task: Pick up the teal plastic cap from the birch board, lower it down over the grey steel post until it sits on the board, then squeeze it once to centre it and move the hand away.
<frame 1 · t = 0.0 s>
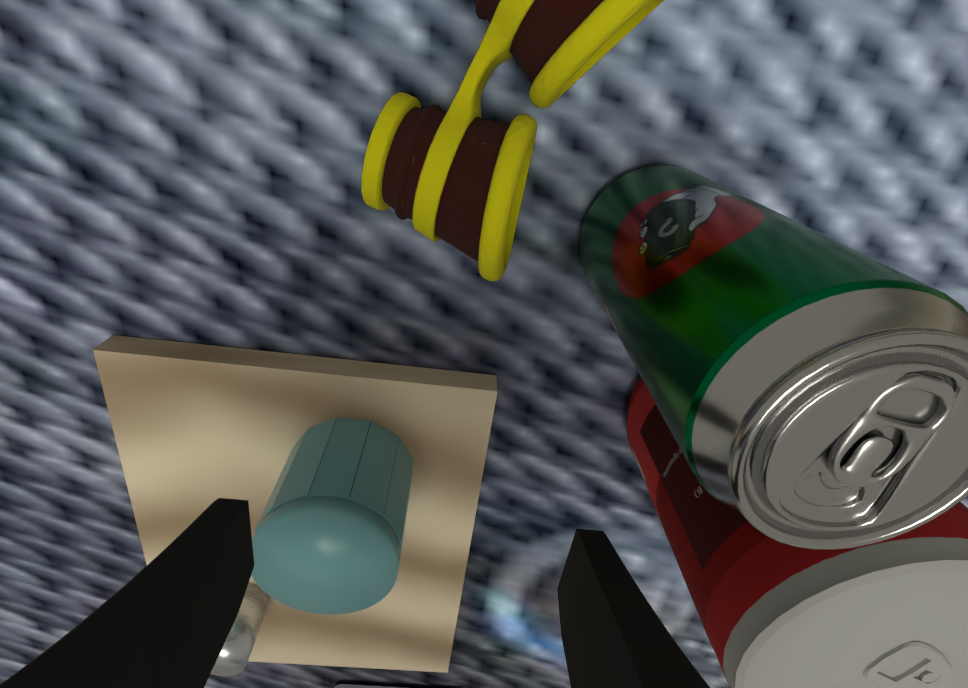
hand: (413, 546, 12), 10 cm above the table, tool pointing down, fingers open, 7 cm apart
soda can: (644, 233, 19), on the table
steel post: (256, 575, 27), resting on birch board
opera glasses: (499, 88, 17), on the table
teal cap: (353, 466, 22), point 1 cm above the table, touching birch board
canned food: (710, 404, 23), on the table
birch board: (314, 524, 25), on the table
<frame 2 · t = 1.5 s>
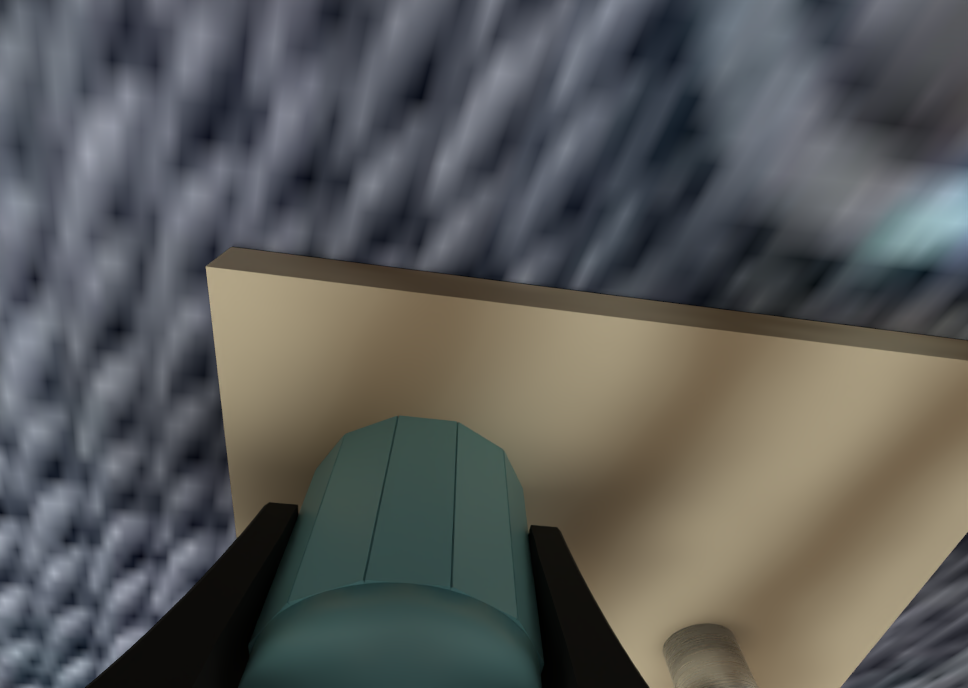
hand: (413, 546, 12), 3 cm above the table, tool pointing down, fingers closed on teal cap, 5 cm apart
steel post: (684, 609, 17), resting on birch board
teal cap: (418, 500, 13), point 1 cm above the table, touching birch board, gripper
birch board: (587, 535, 15), on the table
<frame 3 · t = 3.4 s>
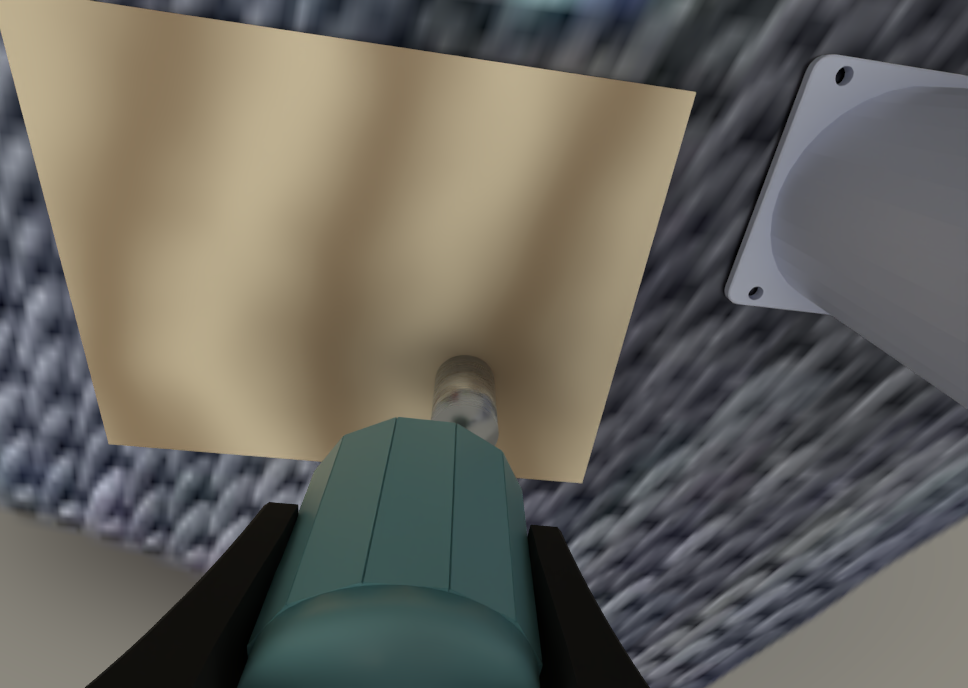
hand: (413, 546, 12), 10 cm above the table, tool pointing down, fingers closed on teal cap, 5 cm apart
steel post: (465, 364, 20), resting on birch board
teal cap: (417, 501, 13), point 8 cm above the table, touching gripper
birch board: (364, 281, 19), on the table
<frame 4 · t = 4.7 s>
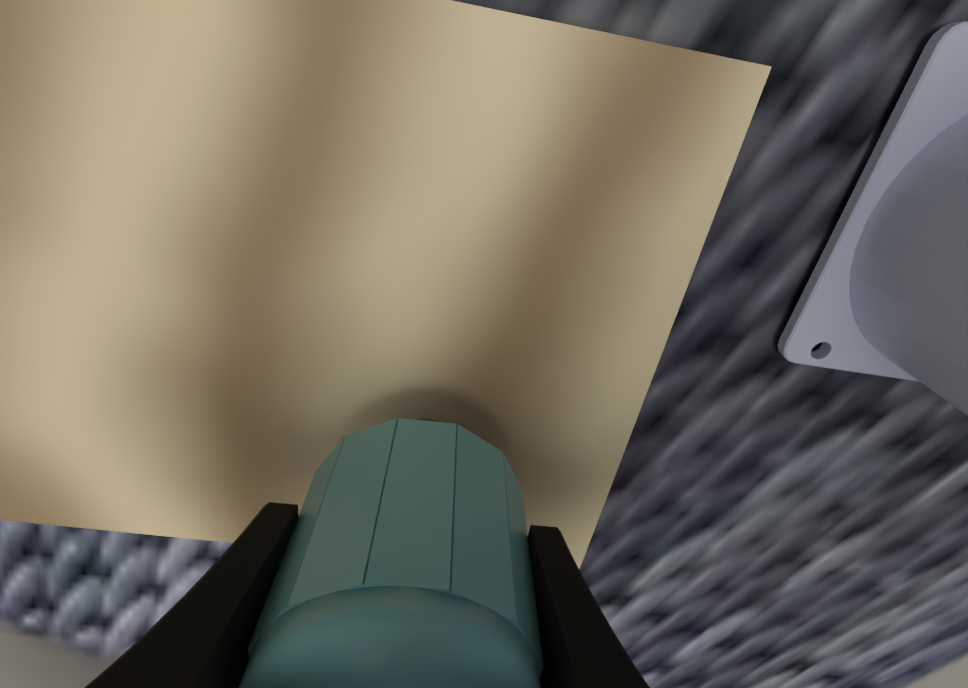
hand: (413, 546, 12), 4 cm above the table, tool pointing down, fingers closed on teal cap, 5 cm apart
teal cap: (418, 502, 13), point 3 cm above the table, touching gripper
birch board: (291, 314, 14), on the table
when the fingers open (4 cm above the table, at t = 5.4 s): teal cap drops 1 cm, resting on birch board.
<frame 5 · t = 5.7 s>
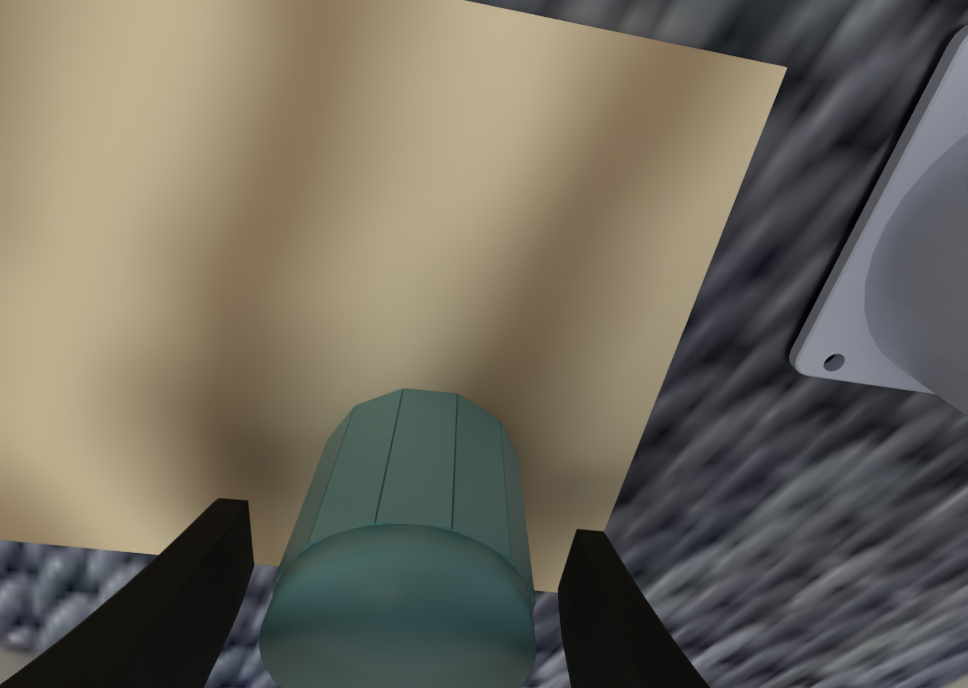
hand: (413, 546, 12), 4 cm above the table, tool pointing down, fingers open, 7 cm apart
teal cap: (422, 468, 14), point 1 cm above the table, touching birch board
birch board: (282, 326, 13), on the table
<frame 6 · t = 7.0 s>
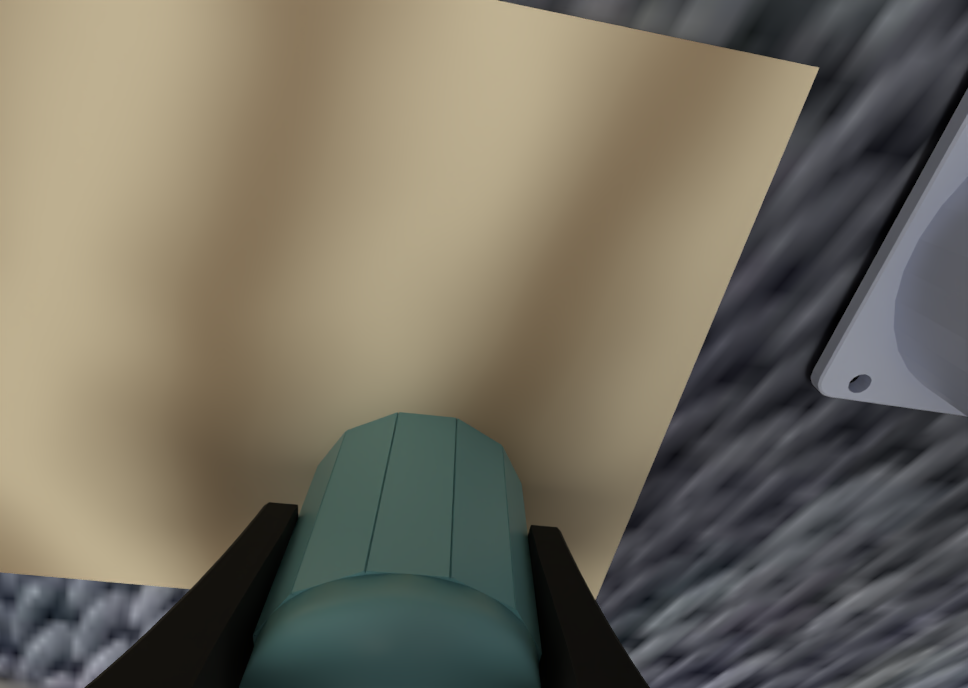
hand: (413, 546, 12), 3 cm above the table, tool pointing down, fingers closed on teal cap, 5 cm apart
teal cap: (419, 495, 13), point 1 cm above the table, touching birch board, gripper
birch board: (269, 344, 12), on the table
when the fingers open (3 cm above the table, at t = 8.2 s): teal cap stays where it is, resting on birch board.
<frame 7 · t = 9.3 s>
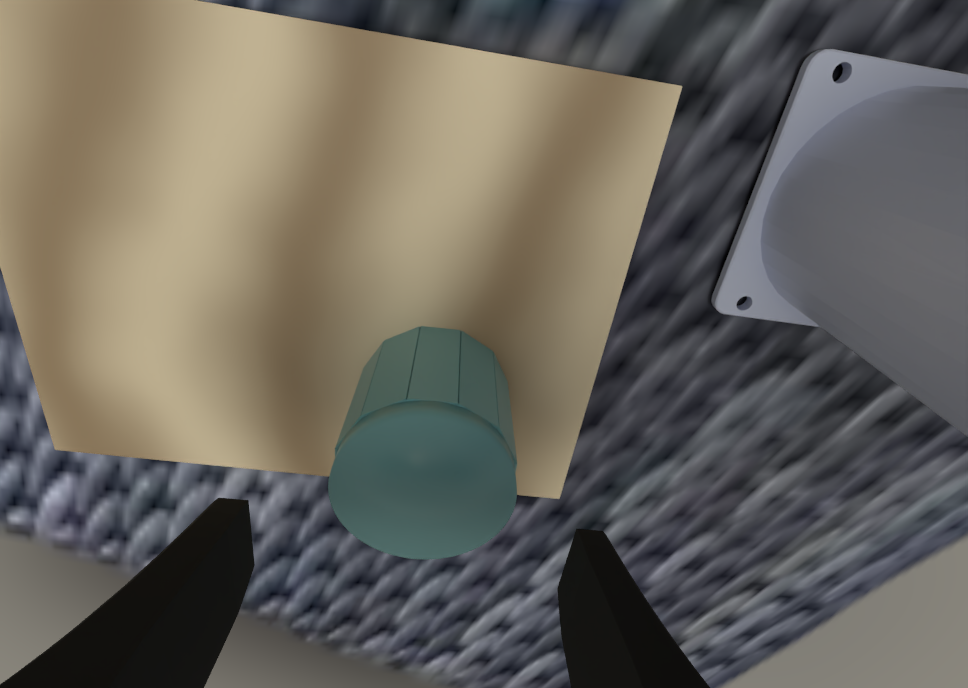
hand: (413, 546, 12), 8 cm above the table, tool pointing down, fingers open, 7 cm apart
teal cap: (434, 391, 18), point 1 cm above the table, touching birch board
birch board: (328, 282, 18), on the table
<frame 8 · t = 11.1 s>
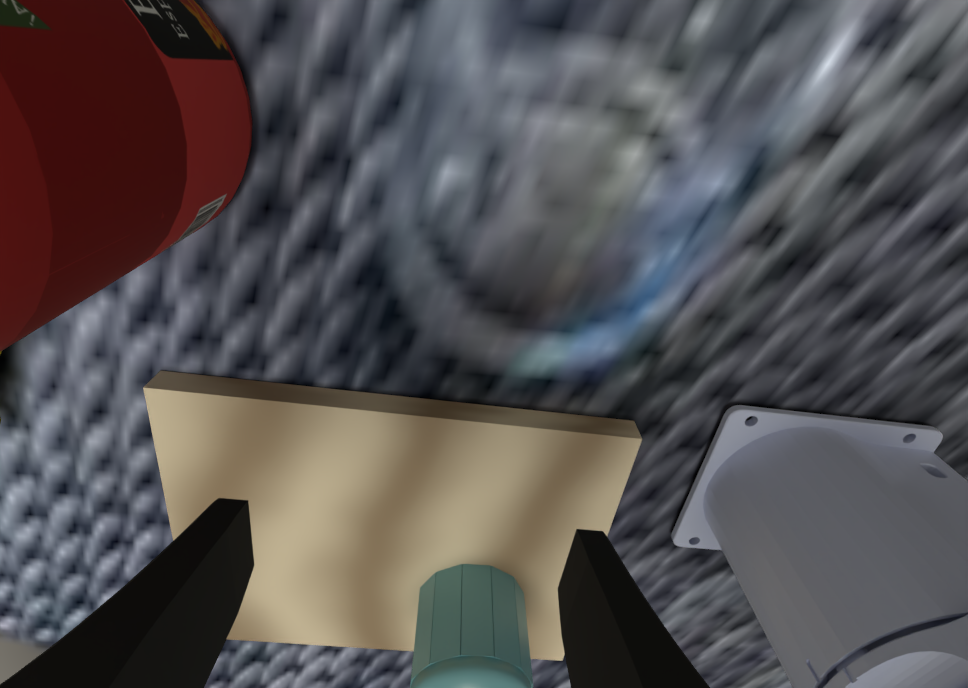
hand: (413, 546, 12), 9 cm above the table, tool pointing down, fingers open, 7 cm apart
teal cap: (470, 599, 25), point 1 cm above the table, touching birch board
canned food: (135, 105, 16), on the table
birch board: (394, 528, 24), on the table
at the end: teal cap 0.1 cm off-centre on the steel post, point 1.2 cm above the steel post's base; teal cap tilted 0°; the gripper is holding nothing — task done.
